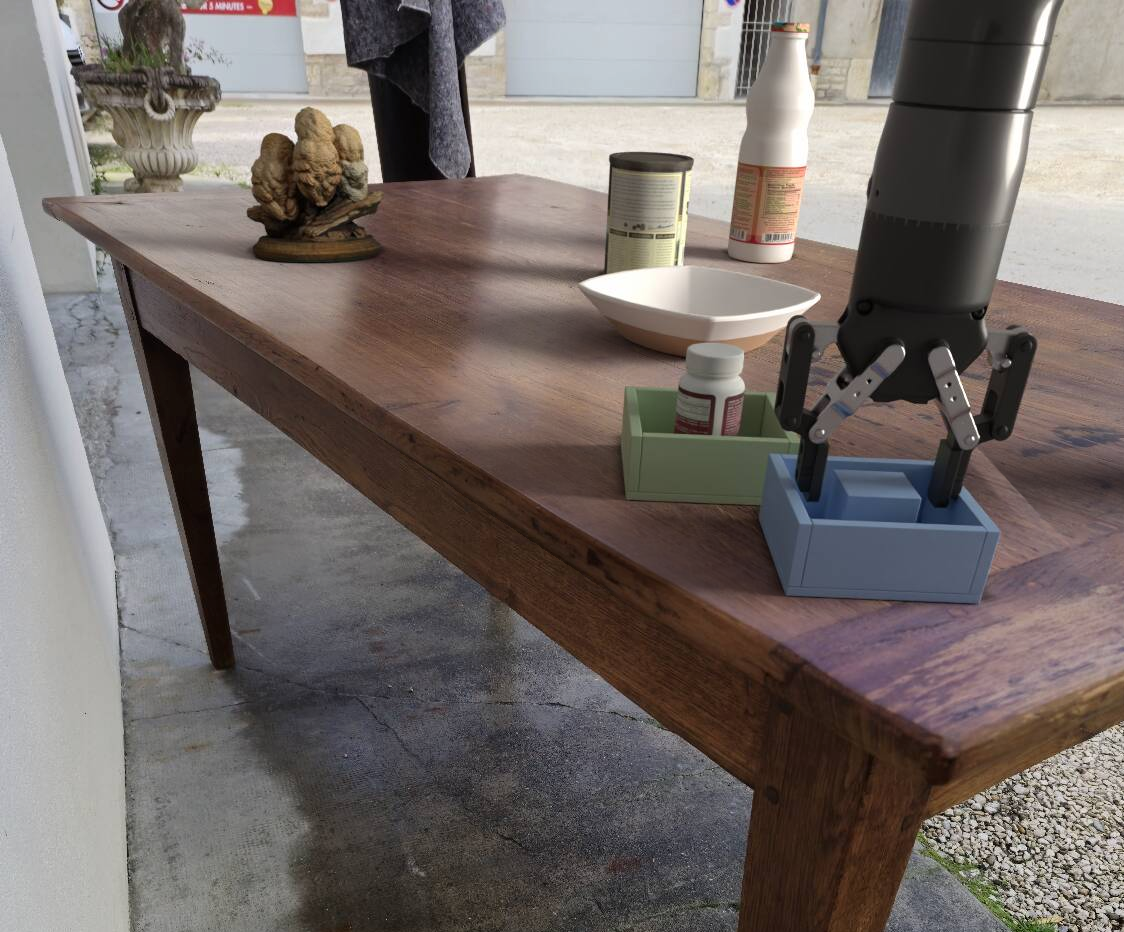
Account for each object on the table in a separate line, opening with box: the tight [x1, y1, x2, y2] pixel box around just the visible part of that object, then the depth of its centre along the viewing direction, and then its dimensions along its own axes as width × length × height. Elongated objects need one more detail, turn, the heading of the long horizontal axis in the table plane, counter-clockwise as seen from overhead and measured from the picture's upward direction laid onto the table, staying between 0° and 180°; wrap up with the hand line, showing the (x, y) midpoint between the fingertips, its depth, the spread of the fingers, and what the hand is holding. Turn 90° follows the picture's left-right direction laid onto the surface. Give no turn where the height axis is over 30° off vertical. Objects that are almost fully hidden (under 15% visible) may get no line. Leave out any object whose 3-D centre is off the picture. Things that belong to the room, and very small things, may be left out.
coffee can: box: [603, 151, 695, 275], centre depth 130 cm, size 10×10×14 cm
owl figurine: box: [246, 106, 385, 263], centre depth 135 cm, size 18×12×17 cm, turn 112°
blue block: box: [824, 469, 921, 523], centre depth 65 cm, size 4×4×4 cm
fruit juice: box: [727, 21, 816, 264], centre depth 143 cm, size 9×9×28 cm
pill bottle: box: [674, 343, 746, 437], centre depth 75 cm, size 5×5×8 cm
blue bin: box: [758, 454, 1002, 605], centre depth 65 cm, size 12×12×5 cm
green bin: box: [620, 385, 801, 506], centre depth 77 cm, size 12×12×5 cm
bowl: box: [577, 264, 821, 358], centre depth 108 cm, size 22×22×5 cm
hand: (873, 500), depth 65 cm, fingers open, 7 cm apart
